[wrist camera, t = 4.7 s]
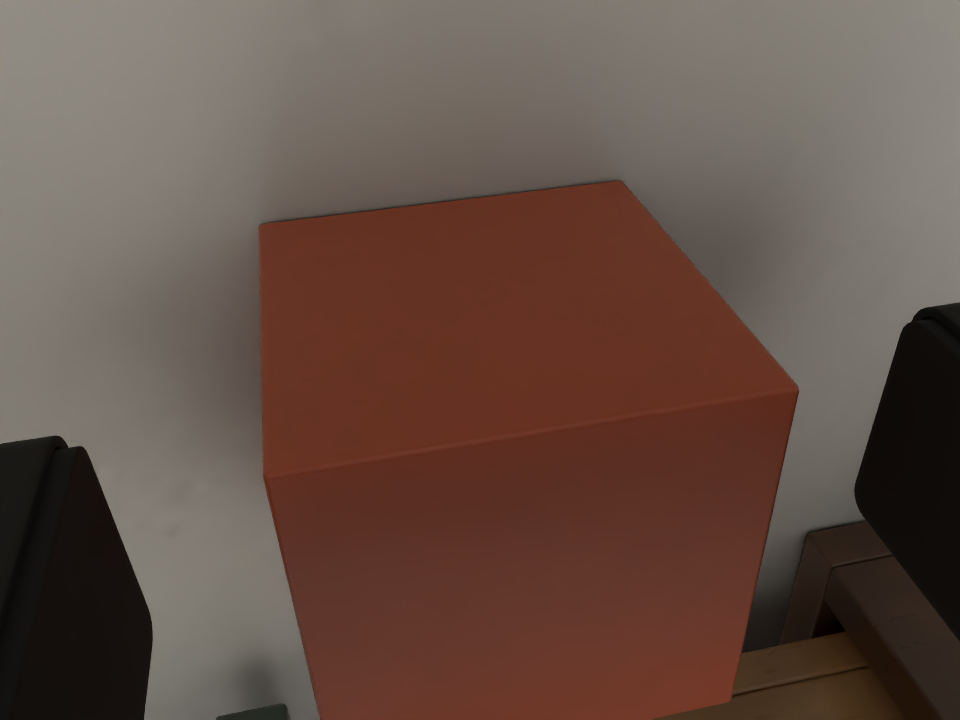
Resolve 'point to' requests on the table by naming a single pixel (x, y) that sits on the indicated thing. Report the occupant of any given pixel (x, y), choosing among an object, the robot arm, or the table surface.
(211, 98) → the table surface
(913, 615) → the cabinet
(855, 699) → the wooden drawer
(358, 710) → the block
